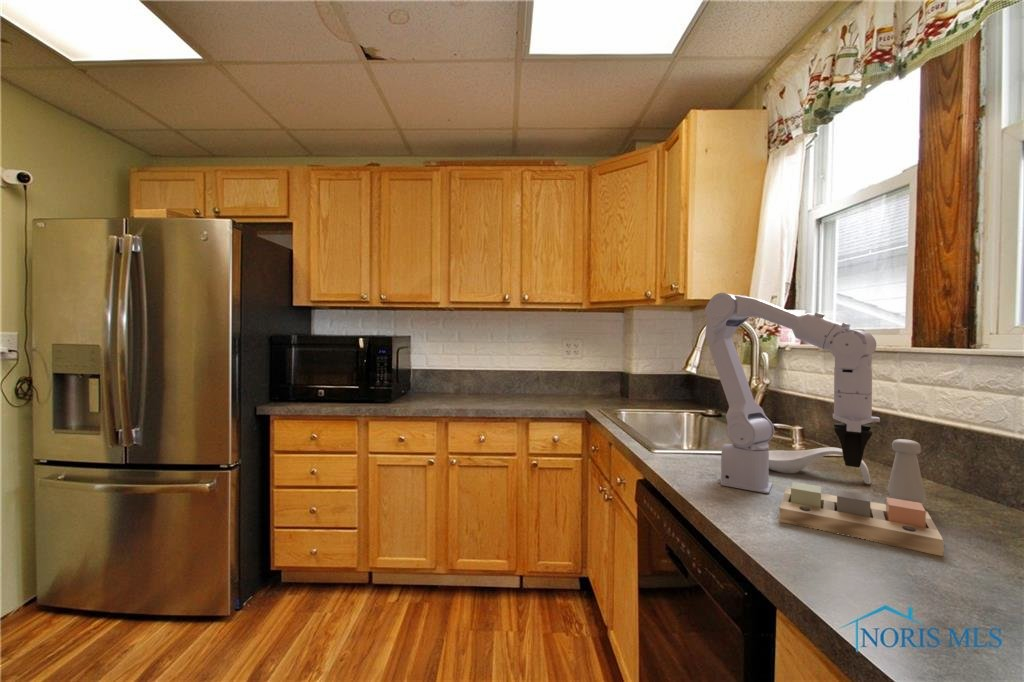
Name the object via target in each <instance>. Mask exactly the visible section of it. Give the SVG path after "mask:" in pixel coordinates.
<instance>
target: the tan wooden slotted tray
mask: <svg viewBox="0 0 1024 682" xmlns="http://www.w3.org/2000/svg"><path fill="white" fill-rule="evenodd" d="M781 499H782V500H781V503H780V506H779V522H780V523H785V524H789V525H794V526H798V525H799V527H803V526H805V527H804V528H807V527H809V528H808V529H812V528H814V529H813V530H817V529H819V530H818V531H821V530H823V531H822V532H826V531H828V532H827V533H831V532H833V533H832V534H836V533H839V534H838V535H840V534H844V535H843V536H845V535H849V536H848V537H850V536H853V537H852V538H854V537H858V538H857V539H859V538H861V539H860V540H864V539H866V540H865V541H869V540H870V542H873V541H874V543H878V542H879V544H883V545H889V546H894V547H898V548H902V549H907V550H912V551H917V552H922V553H926V554H931V555H935V556H939V557H944V539H943V537H942V535H941V533H940V531H939V530H938V528H937V526H936V525H935V522H934V521H933V519H932V517H931V515H930V513H929V512H928V511H927V510H925V511H926V528H923V527H918V526H913V525H907V524H902V523H897V522H891V521H888V519H887V516H886V503H880V502H873V501H870V517H865V516H859V515H854V514H849V513H843V512H838V511H837V495H831V494H827V493H822V492H821V508H817V507H811V506H806V505H801V504H795V503H791V487H788V486H787V487H785V490H784V494H783V497H782V498H781Z"/></svg>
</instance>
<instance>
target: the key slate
mask: <svg viewBox="0 0 1024 682" xmlns="http://www.w3.org/2000/svg"><path fill="white" fill-rule="evenodd" d="M836 496H837V511H838V512H843V513H849V514H854V515H859V516H865V517H870V502H871V498H870V495H869V493H861V492H857V491H856V492H855V491H850V490H845V489H839V488H837V489H836Z"/></svg>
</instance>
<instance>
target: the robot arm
mask: <svg viewBox="0 0 1024 682" xmlns="http://www.w3.org/2000/svg"><path fill="white" fill-rule="evenodd" d="M704 311H705V314H706V324H705V333H704V335H705V339H706V342H707V345H708V348H709V351H710V354H711V357H712V360H713V362H714V365H715V368H716V371H717V374H718V375H717V376H718V378H719V380H720V383H721V386H722V389H723V393H724V396H725V398H726V401H727V403H728V410H727V412H726V415H725V419H726V422H727V427H726V433H727V434H726V435H727V437H728V439H729V441H730V442H731V443H723V445H722V448H721V453H720V454H721V455H720V456H721V458H720V461H721V462H720V464H721V465H720V486H723V487H724V486H725V487H729V488H735V489H740V490H741V489H742V490H746V491H751V492H756V493H757V492H758V493H763V494H769V492H770V491H771V488H772V486H773V482H771V481H769V478H770V477H769V475H770V474H769V473H770V469H769V451H770V445H769V441H771V440H772V439H773V437H774V434H775V427H774V424H773V422H772V421H771V419H769V418H768V416H766V413H765V411H764V409H763V408H762V406H760V405H759V404H758V403H757V402H756V401H755V399H754V395H753V392H752V389H751V387H750V385H749V382H748V379H747V376H746V373H745V370H744V367H743V365H742V363H741V359H740V357H739V353H738V351H737V348H736V345H735V343H734V340H733V336H734V334H735V333H736V331H737V329H738V328H739V327H741V326H742V325H743V324H744V323H745V322H746V321H748V320H749V319H750V318H754V319H755V318H760V319H763V320H765V321H767V322H771V323H773V324H776V325H779V326H782V327H785V328H787V329H790V330H791V331H792V334H793V335H794V338H796V339H797V340H800V341H803V342H805V343H807V344H809V345H813V346H815V347H817V348H819V349H822V350H824V351H827V352H830V353H831V355H832V356H833V357H834V369H833V371H834V373H833V375H834V376H833V378H834V379H833V381H834V382H833V413H832V419H833V420H836V421H839V422H841V423H839V422H838V423H837V422H835V423H833V425H834V426H833V430H834V432H835V433H836V434H835V435H837V436H836V437H837V438H838V440H839V442H840V446H841V449H842V452H843V456H842V458H843V461H844V464H845V466H846V467H852V468H853V467H854V468H860V465H861V461H862V460H863V457H864V456H863V455H864V452H865V449H866V445H867V444H868V442H869V440H870V439H871V437H872V435H873V431H871V428H872V427H871V425H869V424H870V423H880V422H881V418H880V417H878V416H872V415H873V414H872V413H873V411H872V409H873V402H872V401H873V397H872V396H873V369H872V368H873V367H872V355H873V354H874V353H875V351H876V349H877V341H876V339H875V337H874V335H872V334H871V333H869V332H867V331H866V330H865V329H861V328H858V329H857V328H855V329H850V327H851V324H849V323H846V322H843V323H840V322H837V321H834V320H831V319H829V318H825V316H826V315H825V314H824V313H821V312H818V311H816V312H815V313H812V312H808V313H805V314H802V315H799V314H797V313H794V312H792V311H790V310H788V309H785V308H783V307H780V306H778V305H775V304H773V303H771V302H768V301H766V300H764V299H760V298H756V297H751V296H747V295H744V294H732V293H727V292H718V293H716V294H714V295H713V296H712V297H711V298H710V300H709V301H708V303H707V304H706V307H705V308H704Z"/></svg>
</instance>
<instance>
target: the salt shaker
mask: <svg viewBox="0 0 1024 682" xmlns="http://www.w3.org/2000/svg"><path fill="white" fill-rule="evenodd" d="M891 446H892V450H893V451H895V455H894V459H893V464H892V468H891V470H890V471H891V472H890V477H889V481H888V486H887V488H886V489H887V493H888V495H889V498H894V499H900V500H906V501H912V502H918V503H921V504H922V505H923V503H925V501H926V499H927V496H926V495H927V494H926V491H925V487H924V483H923V478H922V474H921V469H920V465H919V460H918V454H921V452H922V446H921V444H920V443H919V442H917V441H915V440H911V439H906V438H905V439H904V438H898V439H894V440H893V441H892V443H891Z"/></svg>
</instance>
